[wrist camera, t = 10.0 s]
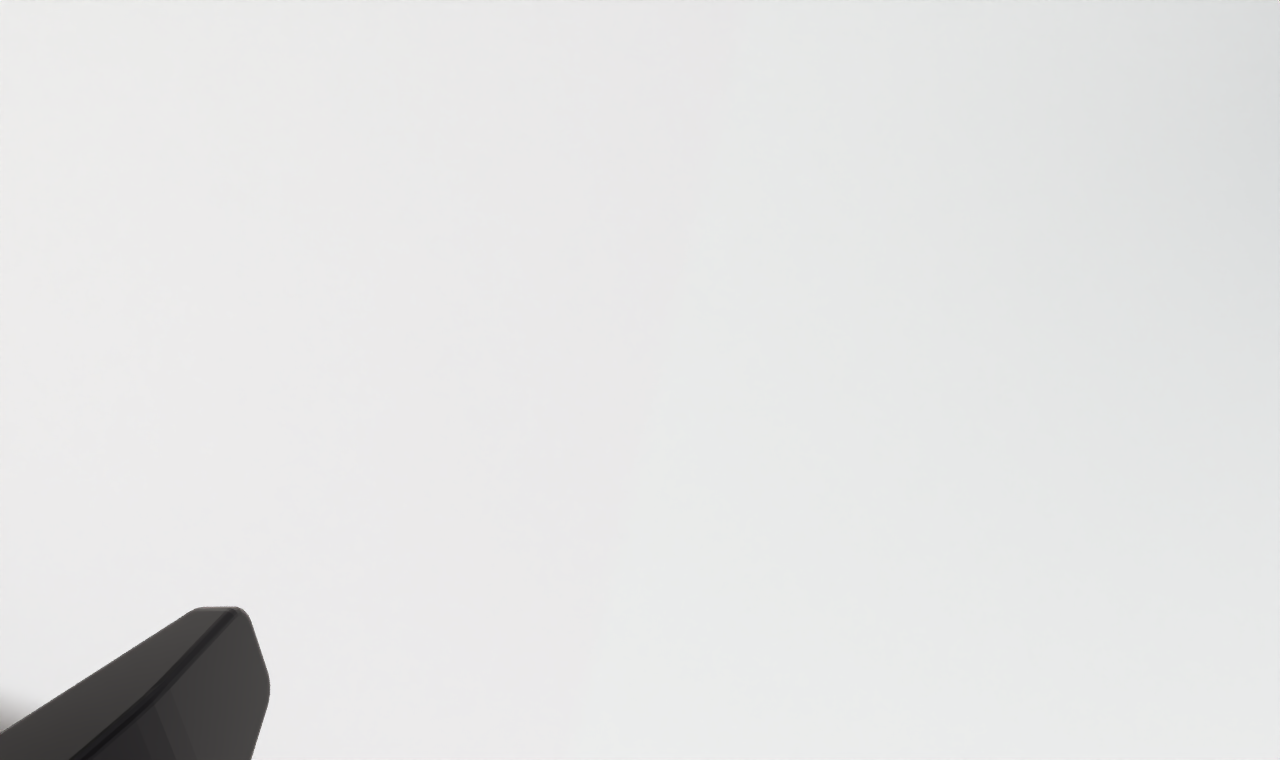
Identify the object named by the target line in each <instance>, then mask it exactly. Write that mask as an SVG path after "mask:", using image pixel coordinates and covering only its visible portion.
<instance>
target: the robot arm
mask: <svg viewBox="0 0 1280 760" xmlns="http://www.w3.org/2000/svg"><path fill="white" fill-rule="evenodd" d="M269 696H270V680H269V675H268V671H267V668H266V665H265V662H264V659H263V656H262V653H261V650H260V647H259V644H258V641H257V638H256V635H255V631H254V628H253V625H252V622H251V620H250V618H249V615H248V614H247V613H246V612H245V611H244V610H243V609H241V608H238V607H200V608H196V609H194V610H192V611H190V612H188V613H187V614H185V615H184V616H182V617H181V618H179V619H178V620H176V621H174V622H173V623H171V624H170V625H168V626H167V627H165V628H163V629H162V630H160V631H159V632H157V633H156V634H154V635H153V636H151V637H149V638H148V639H146V640H145V641H143V642H142V643H140V644H139V645H137V646H135V647H134V648H132V649H131V650H129V651H128V652H126V653H124V654H123V655H121V656H120V657H118V658H117V659H115V660H114V661H112V662H110V663H109V664H107V665H106V666H104V667H103V668H101V669H100V670H98V671H96V672H95V673H93V674H92V675H90V676H89V677H87V678H85V679H84V680H82V681H81V682H79V683H78V684H76V685H75V686H73V687H71V688H70V689H68V690H67V691H65V692H64V693H62V694H60V695H59V696H57V697H56V698H54V699H53V700H51V701H50V702H48V703H46V704H45V705H43V706H42V707H40V708H39V709H37V710H36V711H34V712H32V713H31V714H29V715H28V716H26V717H25V718H23V719H21V720H20V721H18V722H17V723H15V724H14V725H12V726H11V727H9V728H7V729H6V730H4V731H3V732H1V733H0V760H251V758H252V755H253V752H254V749H255V745H256V742H257V739H258V736H259V732H260V729H261V726H262V723H263V719H264V716H265V713H266V710H267V706H268V702H269Z"/></svg>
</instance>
